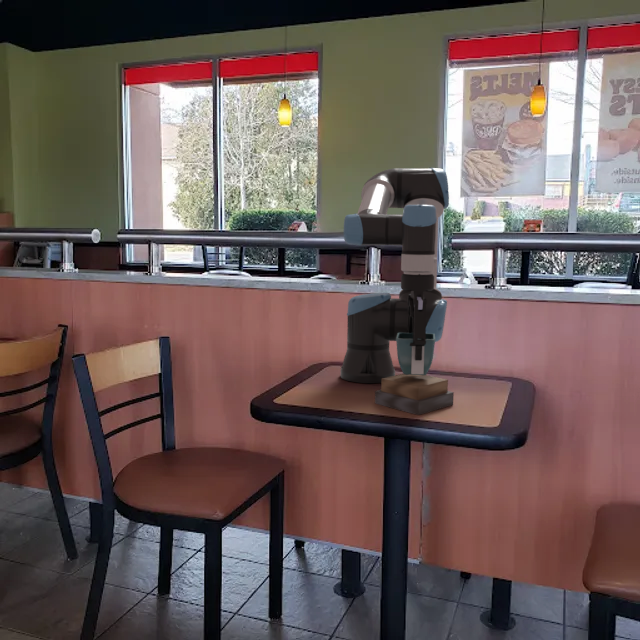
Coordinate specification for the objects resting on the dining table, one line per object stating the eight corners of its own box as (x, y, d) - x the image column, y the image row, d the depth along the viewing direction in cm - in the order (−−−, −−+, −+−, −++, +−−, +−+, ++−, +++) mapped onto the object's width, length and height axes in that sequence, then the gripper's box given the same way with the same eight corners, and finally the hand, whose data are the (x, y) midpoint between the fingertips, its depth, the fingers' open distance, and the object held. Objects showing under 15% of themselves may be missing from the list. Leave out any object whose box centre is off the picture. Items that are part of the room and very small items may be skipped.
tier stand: (374, 403, 153) (375, 378, 153) (410, 394, 162) (410, 370, 161) (418, 415, 144) (419, 388, 143) (453, 404, 153) (454, 379, 152)
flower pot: (396, 368, 157) (397, 331, 156) (433, 370, 156) (434, 333, 155) (395, 376, 149) (395, 338, 147) (434, 378, 147) (435, 339, 146)
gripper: (441, 276, 138) (437, 380, 141) (428, 270, 159) (425, 360, 163) (405, 276, 138) (403, 379, 142) (397, 269, 160) (395, 359, 163)
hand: (415, 369), depth 152 cm, fingers closed on flower pot, 9 cm apart
